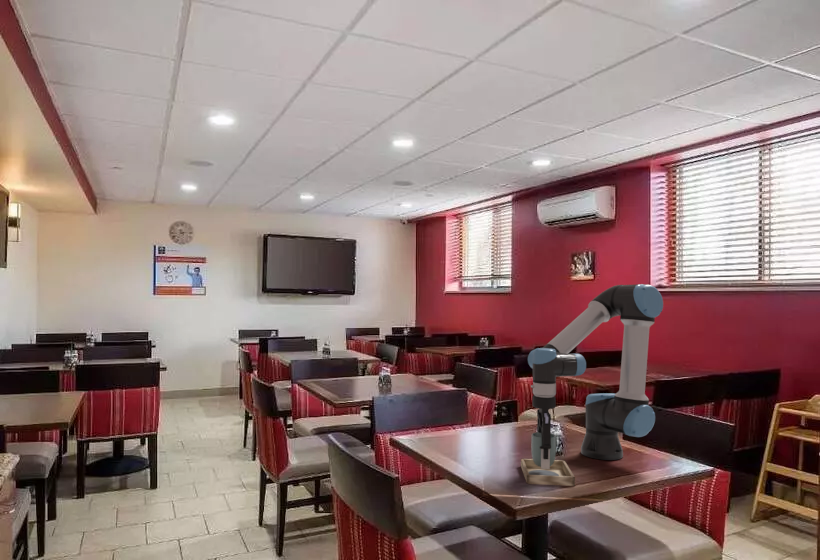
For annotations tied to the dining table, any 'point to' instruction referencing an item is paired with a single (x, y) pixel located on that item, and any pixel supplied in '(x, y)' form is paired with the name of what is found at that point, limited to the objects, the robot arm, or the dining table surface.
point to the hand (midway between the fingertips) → (543, 464)
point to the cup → (537, 451)
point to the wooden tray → (557, 467)
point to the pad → (543, 473)
